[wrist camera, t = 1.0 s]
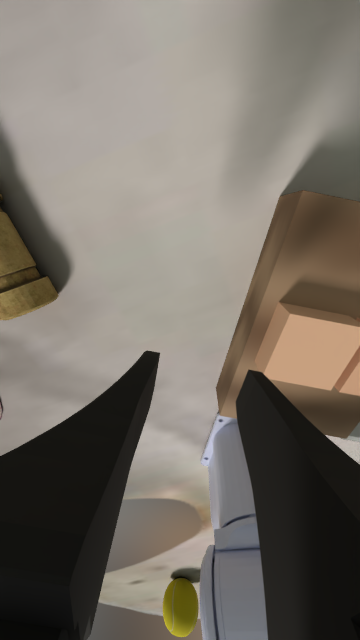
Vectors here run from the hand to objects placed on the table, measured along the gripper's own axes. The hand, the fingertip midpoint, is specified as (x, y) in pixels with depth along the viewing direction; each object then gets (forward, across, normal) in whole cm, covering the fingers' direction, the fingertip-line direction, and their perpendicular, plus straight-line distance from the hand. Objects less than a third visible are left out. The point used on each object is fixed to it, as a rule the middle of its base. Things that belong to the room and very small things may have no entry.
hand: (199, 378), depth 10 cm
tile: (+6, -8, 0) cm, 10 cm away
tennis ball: (+10, -10, +62) cm, 64 cm away
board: (+10, -10, 0) cm, 14 cm away
